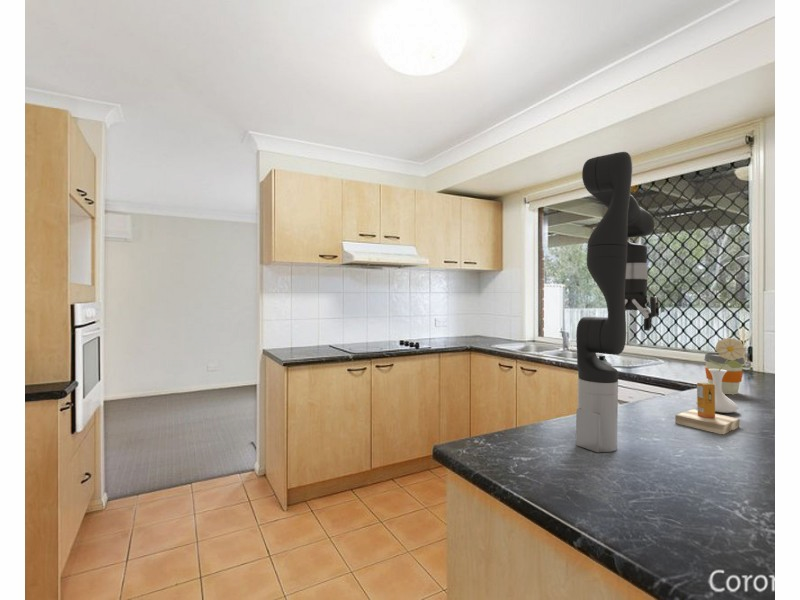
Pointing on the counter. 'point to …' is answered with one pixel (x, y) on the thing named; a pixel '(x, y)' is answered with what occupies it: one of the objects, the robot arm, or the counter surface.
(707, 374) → the reusable coffee cup
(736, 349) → the flower in vase
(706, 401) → the supplement box
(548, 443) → the counter surface
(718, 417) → the birch base
